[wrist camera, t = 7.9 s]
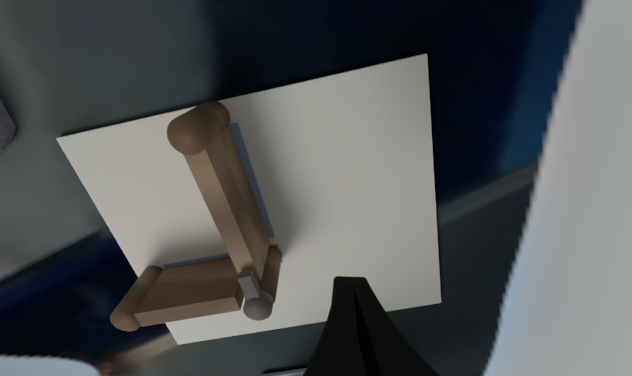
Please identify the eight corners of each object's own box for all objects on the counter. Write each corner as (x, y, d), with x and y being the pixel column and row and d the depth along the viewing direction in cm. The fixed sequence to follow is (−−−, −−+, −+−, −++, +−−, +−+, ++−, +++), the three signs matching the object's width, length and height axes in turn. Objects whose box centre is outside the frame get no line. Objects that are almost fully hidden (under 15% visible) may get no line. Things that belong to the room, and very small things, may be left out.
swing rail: (284, 262, 24) (277, 317, 19) (260, 267, 24) (247, 323, 20) (223, 96, 19) (191, 115, 14) (192, 104, 19) (151, 126, 14)
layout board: (439, 299, 27) (441, 302, 26) (179, 340, 29) (178, 344, 28) (424, 53, 18) (427, 53, 18) (60, 136, 20) (55, 138, 20)
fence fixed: (284, 262, 24) (278, 308, 20) (150, 286, 25) (117, 335, 21) (278, 242, 24) (270, 285, 19) (139, 268, 25) (103, 314, 20)
